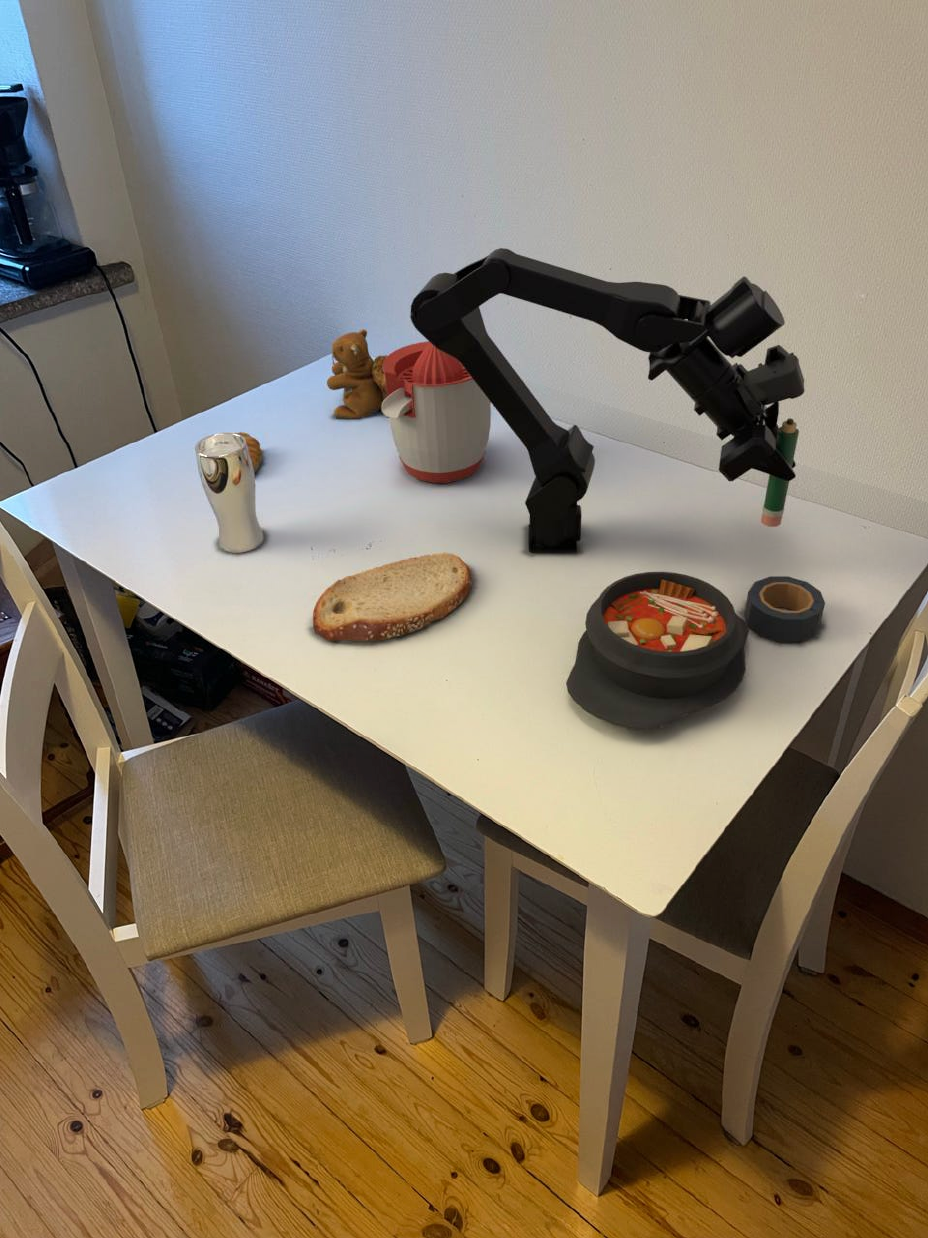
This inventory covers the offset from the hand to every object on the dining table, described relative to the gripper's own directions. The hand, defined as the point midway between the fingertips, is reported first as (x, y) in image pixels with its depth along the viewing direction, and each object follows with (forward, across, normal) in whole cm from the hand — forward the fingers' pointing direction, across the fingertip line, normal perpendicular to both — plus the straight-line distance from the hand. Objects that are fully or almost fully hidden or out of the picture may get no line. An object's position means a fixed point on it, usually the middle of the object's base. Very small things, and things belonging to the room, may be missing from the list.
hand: (792, 473), depth 115 cm
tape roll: (+10, -12, +9) cm, 18 cm away
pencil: (+4, 0, +6) cm, 7 cm away
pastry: (-47, +12, +67) cm, 83 cm away
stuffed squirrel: (-38, +34, +57) cm, 76 cm away
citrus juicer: (-25, +16, +45) cm, 54 cm away
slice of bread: (-22, -18, +42) cm, 51 cm away
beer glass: (-40, -9, +60) cm, 73 cm away
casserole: (+1, -23, +18) cm, 30 cm away
